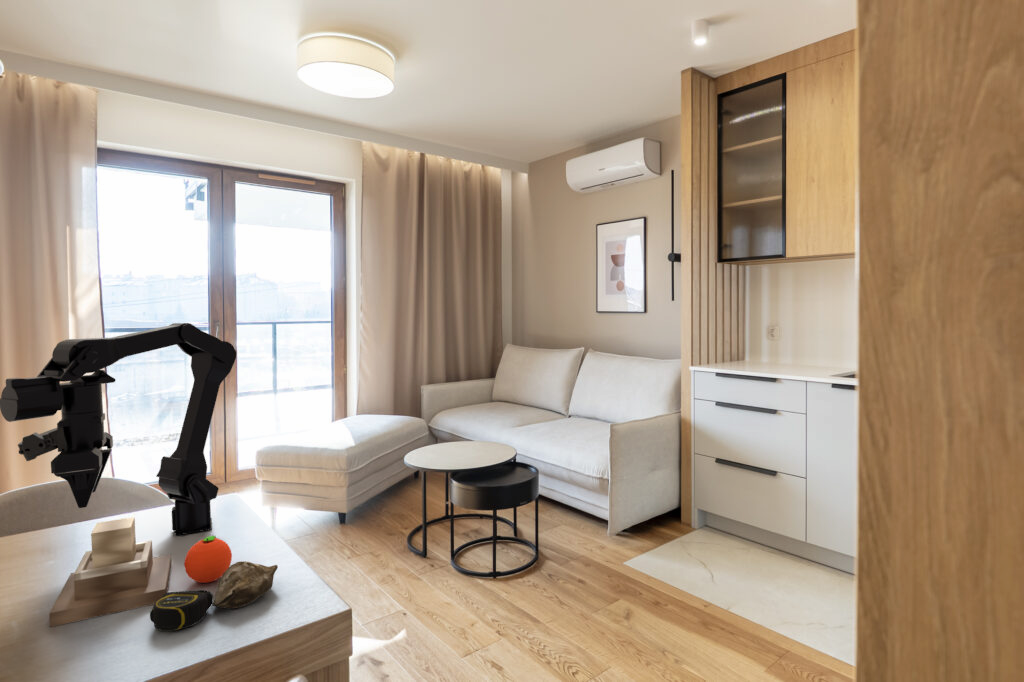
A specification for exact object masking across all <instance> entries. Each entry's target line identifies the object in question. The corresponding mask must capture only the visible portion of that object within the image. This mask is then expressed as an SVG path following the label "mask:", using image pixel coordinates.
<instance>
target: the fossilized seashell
mask: <svg viewBox="0 0 1024 682" xmlns="http://www.w3.org/2000/svg"><path fill="white" fill-rule="evenodd" d="M277 570H278V564H274V565H271V566H267V565H263V564H259V563H255V562H254V563H253V562H251V561H237V562H235V563H233V564H230V566H229V568H228V569H227V570H226V571H225V572H224V573H223V575H222V576H221V577H220V578H218V581H217V584H216V590H215V594H214V597H213V603H212V607H215V608H219V609H231V610H233V609H237V608H241V607H244V606H247V605H249V604H251V603H253V602H254V601H256V600H257V599H258V598H260V597H262V596H263V595H265V594H267V593H268V592H269V591H271V589H272V587H273V584H274V577H275V576H274V575H275V573H276V571H277Z"/></svg>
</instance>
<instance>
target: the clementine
mask: <svg viewBox="0 0 1024 682" xmlns="http://www.w3.org/2000/svg"><path fill="white" fill-rule="evenodd" d="M232 554H233V553H232V550H231V548H230V546H229V545H228V543H226V541H224V540H222V539H220V538H217V536H216V535H211V536H210V535H209V536H206V537H204V538H203V539H201V540H198V541H197V542H195V543H194V544H193V545H192V546H191V547H190V548H189V550H188V551H187V553H186V555H185V558H184V563H183V566H184V570H185V572H186V574H187V577H189V578H190V579H191V580H192V581H194V582H197V583H201V584H203V583H212V582H214V581H217V580H219V579H220V578H221V577H222V575H223V573H224V572H225V571H226V570H227V569H228V568H229V567H230V566H231V565H232V564H231V563H232V559H233V555H232Z"/></svg>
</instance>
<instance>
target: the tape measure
mask: <svg viewBox="0 0 1024 682" xmlns="http://www.w3.org/2000/svg"><path fill="white" fill-rule="evenodd" d="M213 601H214V595H213V593H212V592H211V591H210V590H204V589H202V590H201V589H200V590H199V589H198V590H196V589H195V590H194V589H193V590H180V591H168V592H167V593H165V594H164V595H163V597H162V598H160V599H159V600H157V601H156V602H155V604H153V607H152V608H151V611H150V612H149V619H150V621H151V622H152V623H153V627H154V628H155V629H157V630H159V631H162V632H163V631H165V632H166V631H168V632H169V631H176V630H183V629H185V628H187V627H189V628H190V626H193V625H195V624H197V623H198V622H200V621H202V619H203V618H205V615H206V614H207V612H208V610H209V609H210V608H211V607H212V606H213Z"/></svg>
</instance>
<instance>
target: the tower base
mask: <svg viewBox="0 0 1024 682" xmlns="http://www.w3.org/2000/svg"><path fill="white" fill-rule="evenodd" d="M153 555H154V553H153V540H152V539H151V540H146V541H141V542H136V555H135V558H134V561H132V562H127V563H122V564H116V565H111V566H105V567H100V568H94V569H93V562H92V550H88V551H85V553H84V554H83V555H82V558H81V560H80V562H79V563H78V565H77V566H76V569H75V571H74V572H70V574H69V576H68V578H67V580H66V581H65V583H64V585H63V587H62V589H61V591H60V593H59V595H58V596H57V598H56V600H55V602H54V603H53V605H52V607H51V608H50V611H49V613H48V615H49V617H48V618H49V619H48V621H49V628H51V627H56V626H62V625H66V624H70V623H74V622H79V621H83V620H89V619H93V618H97V617H102V616H106V615H111V614H116V613H121V612H124V611H130V610H134V609H137V608H139V609H140V608H143V607H144V608H145V607H148V606H151V605H153V606H154V604H155V602H156V601H157V600H159V599H160V598H162V597H163V595H164V594H165V593H167V592H169V586H170V585H169V584H170V578H171V574H172V573H171V572H172V554H166V555H162V556H156V557H154V556H153Z"/></svg>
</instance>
